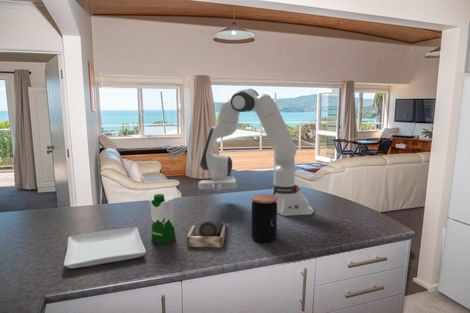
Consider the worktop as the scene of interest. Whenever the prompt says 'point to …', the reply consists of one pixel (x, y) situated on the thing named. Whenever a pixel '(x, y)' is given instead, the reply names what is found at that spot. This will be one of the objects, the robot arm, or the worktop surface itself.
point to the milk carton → (162, 219)
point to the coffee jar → (264, 218)
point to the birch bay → (205, 239)
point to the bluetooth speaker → (211, 221)
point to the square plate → (103, 247)
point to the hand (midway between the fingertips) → (216, 188)
